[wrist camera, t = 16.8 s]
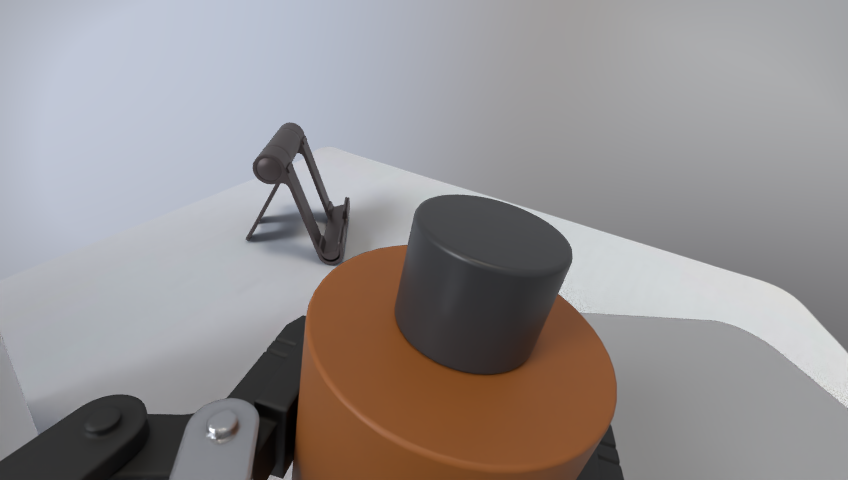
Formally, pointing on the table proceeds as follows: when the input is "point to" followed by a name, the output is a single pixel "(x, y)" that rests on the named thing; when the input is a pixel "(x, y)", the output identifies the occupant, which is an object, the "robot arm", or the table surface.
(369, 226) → the table surface
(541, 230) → the bottle
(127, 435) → the robot arm
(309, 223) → the tablet stand
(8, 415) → the pill bottle
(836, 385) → the table surface
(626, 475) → the tablet
